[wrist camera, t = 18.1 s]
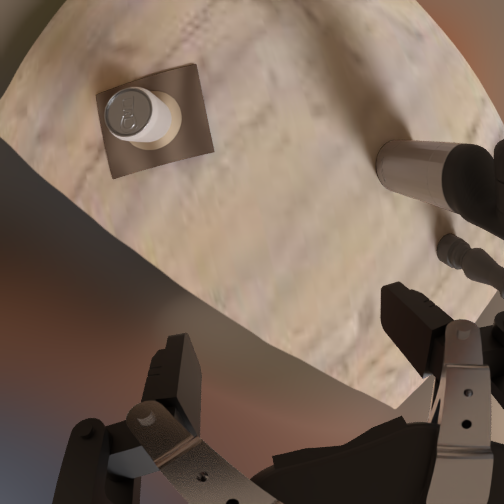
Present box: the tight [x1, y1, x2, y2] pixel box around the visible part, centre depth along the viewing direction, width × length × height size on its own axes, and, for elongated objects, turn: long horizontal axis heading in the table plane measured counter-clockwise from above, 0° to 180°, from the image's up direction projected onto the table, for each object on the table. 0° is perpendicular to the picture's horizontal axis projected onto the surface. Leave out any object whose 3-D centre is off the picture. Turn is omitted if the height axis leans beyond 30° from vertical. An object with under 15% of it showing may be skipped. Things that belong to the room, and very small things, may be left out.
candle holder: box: [437, 234, 504, 299], centre depth 41 cm, size 6×6×25 cm
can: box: [104, 87, 172, 142], centre depth 34 cm, size 6×6×12 cm
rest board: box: [96, 64, 214, 179], centre depth 40 cm, size 16×14×1 cm
